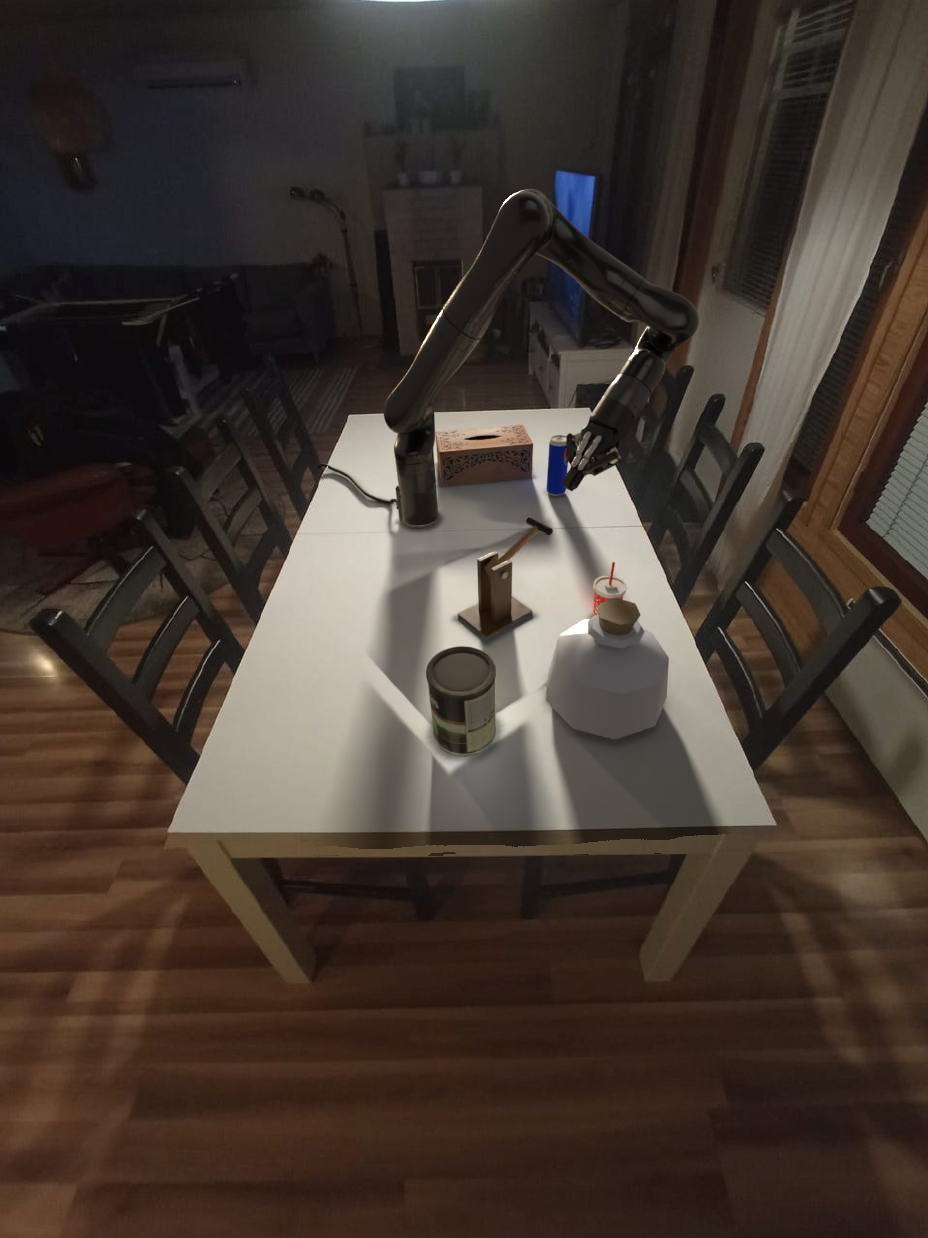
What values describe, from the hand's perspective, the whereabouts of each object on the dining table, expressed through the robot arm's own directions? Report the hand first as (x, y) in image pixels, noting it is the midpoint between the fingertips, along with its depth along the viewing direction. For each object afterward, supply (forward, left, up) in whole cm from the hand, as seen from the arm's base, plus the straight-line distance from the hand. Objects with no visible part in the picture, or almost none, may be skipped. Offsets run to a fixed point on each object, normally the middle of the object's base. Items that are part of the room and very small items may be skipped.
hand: (567, 488), depth 106 cm
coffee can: (0, -44, -22) cm, 50 cm away
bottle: (+18, -27, -22) cm, 40 cm away
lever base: (-8, -16, -22) cm, 29 cm away
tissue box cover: (-40, +43, -22) cm, 62 cm away
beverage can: (-16, +39, -22) cm, 47 cm away
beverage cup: (+12, -8, -22) cm, 27 cm away
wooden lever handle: (-5, -11, -9) cm, 15 cm away
